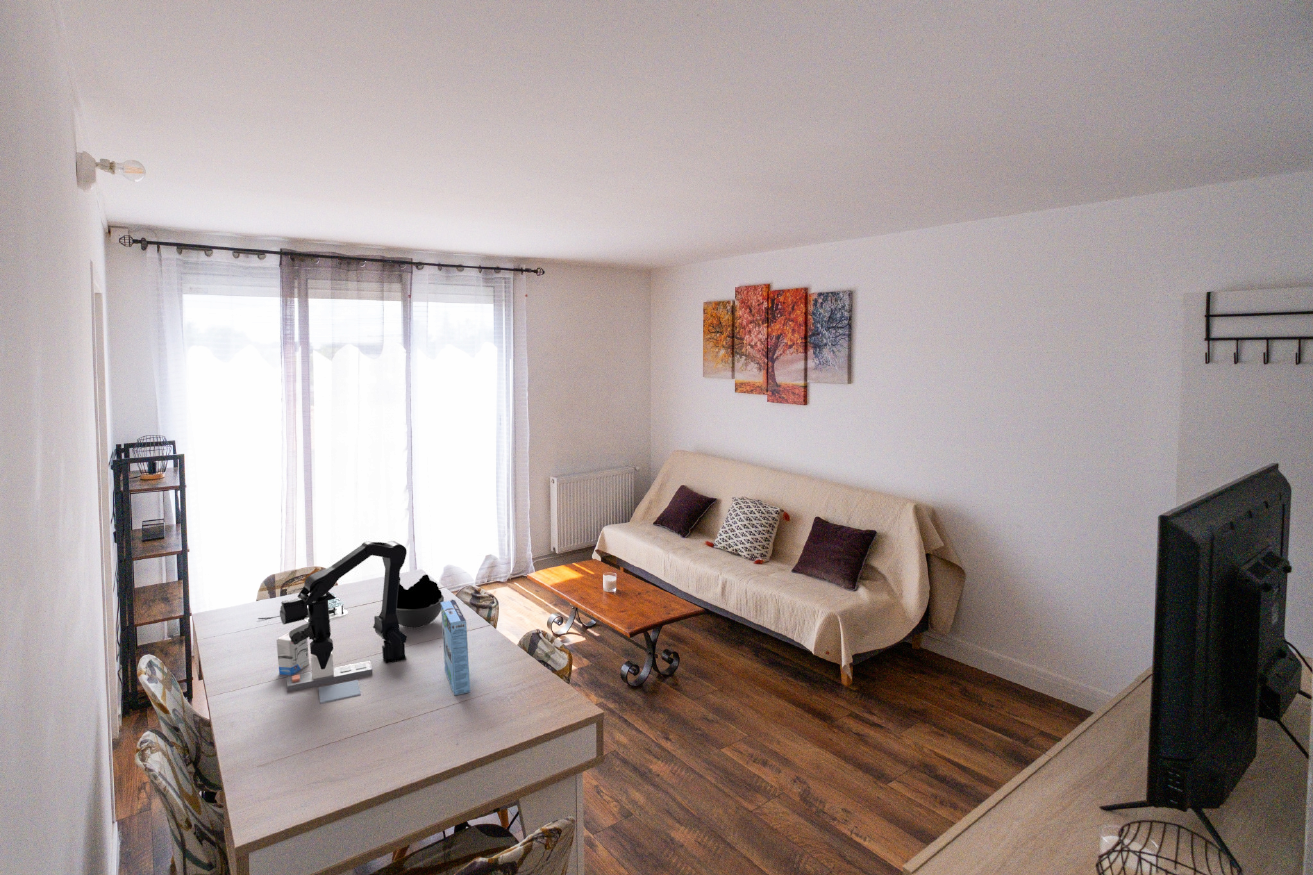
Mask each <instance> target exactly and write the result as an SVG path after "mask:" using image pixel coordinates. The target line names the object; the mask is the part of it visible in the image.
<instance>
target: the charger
mask: <svg viewBox="0 0 1313 875" xmlns="http://www.w3.org/2000/svg"><path fill="white" fill-rule="evenodd" d="M310 663H311V672H312V679H317V678H322V677H327V676H332V675H334V670H333V668H334V658H333V651H332V652H331V655H330V657H329V660H328V662H327V665H326V668H325V669H321V667H320V664H319V661H318V658H317V656H316V655H312V654H311V653H310Z"/></svg>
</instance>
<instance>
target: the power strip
mask: <svg viewBox="0 0 1313 875" xmlns="http://www.w3.org/2000/svg"><path fill="white" fill-rule="evenodd" d="M333 670H334V675H332V676H327V677H322V678H317V679H312V671H309V672H304V673H298V674H293V675H287V677H286V689H287V693H290V692H294V691H298V690H299V691H300V690H304V689H309V688H314V687H318V686H323V685H324V686H325V685H328V684H329V685H330V684H333V683H338V682H343V681H344V682H345V681H349V680H353V679H358V678H361V677H362V678H363V677H367V676H372V675H373V668H372V663H371V661H370V660H366V661H360V662H355V663H350V664H345V665H340V666H333Z"/></svg>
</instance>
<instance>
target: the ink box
mask: <svg viewBox="0 0 1313 875" xmlns="http://www.w3.org/2000/svg"><path fill="white" fill-rule="evenodd" d="M308 646H309V644H308V638H307V639H305V640H303V641H301V642H299V643H298V644H296V645H294V644H293V642H291V639H290V637H289V632H287V633H285V634H283V635H281V636H280V637H277V639H276V650H277V662H278V664H277V665H278V674H279V675H285V676H293V675H296V673H298V672H299V671H301V670H303V669H304V668H305V667H307V666H308V665H309V664H310V658H309V647H308Z"/></svg>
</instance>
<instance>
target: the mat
mask: <svg viewBox="0 0 1313 875" xmlns="http://www.w3.org/2000/svg"><path fill="white" fill-rule="evenodd" d="M318 695H319V696H318V697H319V704H320V705H321V704H325V703H329V702H335V701H339V700H345V699H348V698H349V699H350V698H353V697H357V696H361V689H360V685H359V680H358V679H355V680H351V681H349V680H348V681H344V682H341V683H335V684H329V685H326V686H325V685H324V686H320V687H318Z"/></svg>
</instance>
